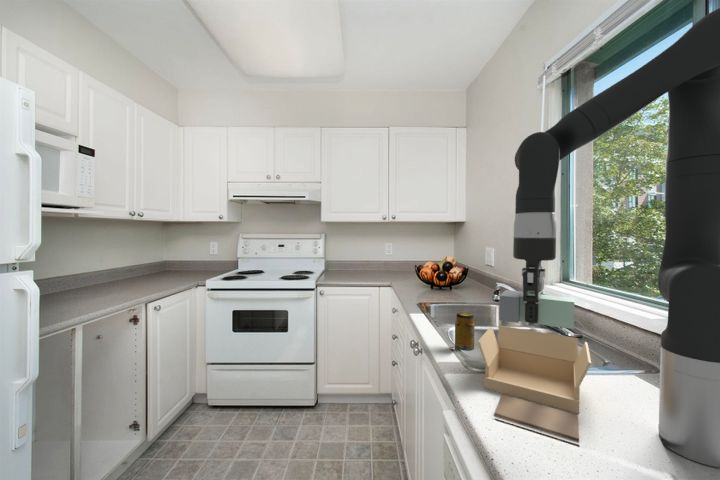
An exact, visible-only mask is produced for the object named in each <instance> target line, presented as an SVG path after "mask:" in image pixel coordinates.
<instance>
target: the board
mask: <svg viewBox="0 0 720 480" xmlns="http://www.w3.org/2000/svg"><path fill="white" fill-rule="evenodd" d="M578 415H579V414H578V413H575V412H571V411H567V410H563V409H560V408H556V407H552V406H549V405H545V404H541V403H538V402H534V401H530V400H526V399H523V398H519V397H515V396H512V395H508V394H504V393H501V397H500V399H499V402H498V404H497V407H496V408H495V411H494V416H495V417H497V418H494V421H496V422H500V423H502V424H506V425H508V426H512V427H515V428H518V429H521V430H524V431H528V432H530V433H533V434H537V435H540V436H543V437H547V438H549V439H553V440H556V441H558V442H562V443H565V444H567V445H571V446H575V447H578V448H579V447H580V445H579V444H577V443H574V442H575V441H576V442H580V432H579V416H578ZM498 417H499V418H502V419H505V420H506V421H505V420H502V419H498ZM507 420H508V421H507ZM509 421H511V422H514V423H511V422H509ZM515 423H517V424H515ZM518 424H520V425H518ZM521 424H522V425H523V426H521ZM524 426H527V427H524ZM528 427H529V428H534V429H537V430H540V431H544V432H546V433H549V434H552V435H556V436H560V437H562V438H565V439H569V440H572V441H574V442H571V441H569V440H565V439H562V438H559V437H555V436H552V435H548V434H546V433H542V432H539V431H536V430H533V429H529V428H528Z"/></svg>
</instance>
